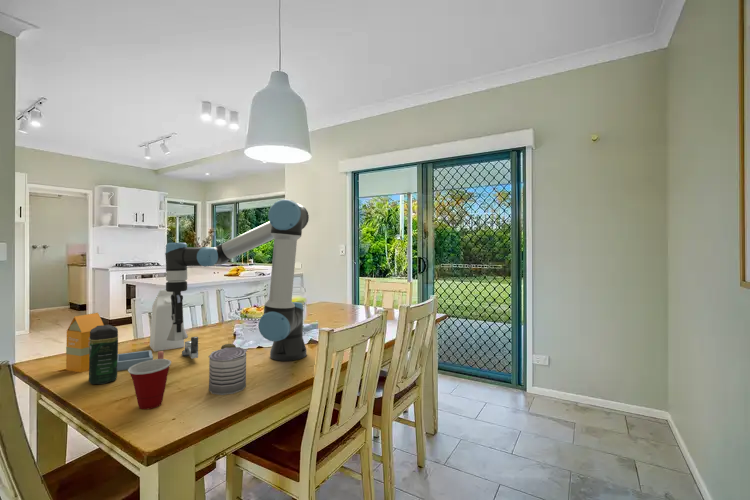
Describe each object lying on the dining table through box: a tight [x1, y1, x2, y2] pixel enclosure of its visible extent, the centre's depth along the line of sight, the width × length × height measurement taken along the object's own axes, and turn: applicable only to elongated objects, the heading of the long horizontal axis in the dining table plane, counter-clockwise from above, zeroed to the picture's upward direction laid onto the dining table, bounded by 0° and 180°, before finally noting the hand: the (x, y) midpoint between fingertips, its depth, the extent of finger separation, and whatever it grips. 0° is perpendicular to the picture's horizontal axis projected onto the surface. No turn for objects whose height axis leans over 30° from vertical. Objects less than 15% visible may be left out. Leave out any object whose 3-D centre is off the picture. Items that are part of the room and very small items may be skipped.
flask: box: [167, 314, 189, 341], centre depth 148 cm, size 7×7×10 cm
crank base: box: [181, 349, 190, 357], centre depth 157 cm, size 6×6×2 cm
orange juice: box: [65, 312, 105, 373], centre depth 138 cm, size 8×9×20 cm
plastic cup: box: [127, 358, 172, 410], centre depth 107 cm, size 11×11×12 cm
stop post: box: [157, 350, 165, 359], centre depth 147 cm, size 2×2×4 cm
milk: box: [149, 289, 185, 352], centre depth 169 cm, size 12×12×26 cm
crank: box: [184, 336, 199, 360], centre depth 153 cm, size 15×4×8 cm, turn 34°
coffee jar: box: [88, 324, 119, 385], centre depth 126 cm, size 10×8×19 cm
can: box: [208, 346, 248, 396], centre depth 121 cm, size 11×11×12 cm
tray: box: [117, 349, 154, 372], centre depth 144 cm, size 12×12×3 cm
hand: (177, 338), depth 148 cm, fingers closed on flask, 8 cm apart
